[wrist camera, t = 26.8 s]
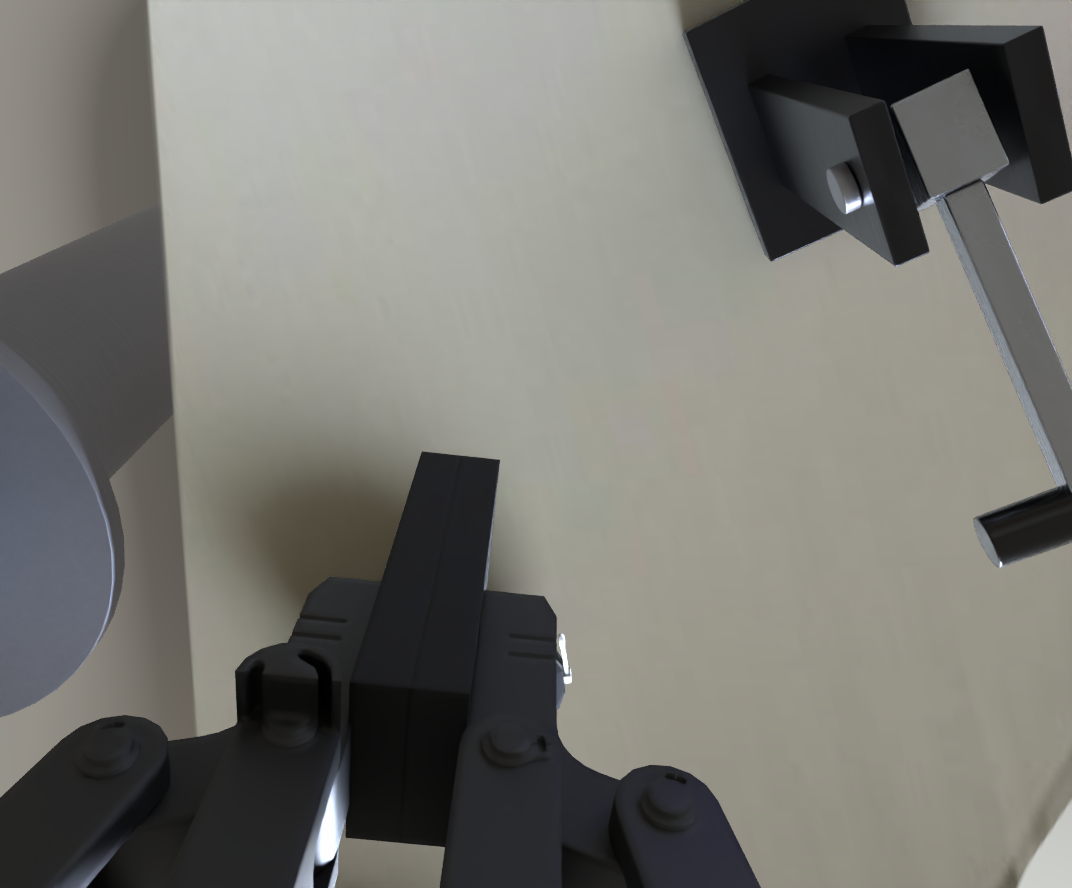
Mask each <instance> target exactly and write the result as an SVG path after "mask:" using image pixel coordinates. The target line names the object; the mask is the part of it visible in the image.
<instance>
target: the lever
mask: <svg viewBox="0 0 1072 888" xmlns="http://www.w3.org/2000/svg"><path fill="white" fill-rule="evenodd" d="M888 112H889V115H890V118H891V122H892V125H893V129H894V132H895V135H896V139H897V142H898V146H899V149H900V152H901V156H902V159H903V162H904V166H905V169H906V173H907V176H908V179H909V183H910V186H911V189H912V193H913V196H914V200H915V203H916V206H917V210H918V212H919V211H921V210H923V209H925V208H928V207H930V206H932V205H934V204H936V205H937V207H938V210H939V212H940V214H941V217H942V219H943V221H944V224H945V226H946V228H947V231H948V233H949V235H950V238H951V240H952V242H953V245H954V247H955V249H956V252H957V254H958V256H959V259H960V261H961V263H962V266H963V268H964V270H965V273H966V275H967V277H968V280H969V282H970V284H971V287H972V289H973V291H974V294H975V296H976V298H977V301H978V303H979V305H980V308H981V310H982V312H983V315H984V317H985V319H986V322H987V324H988V326H989V329H990V331H991V333H992V336H993V338H994V340H995V343H996V345H997V347H998V350H999V352H1000V354H1001V357H1002V359H1003V361H1004V364H1005V366H1006V368H1007V371H1008V373H1009V375H1010V378H1011V380H1012V382H1013V385H1014V387H1015V389H1016V392H1017V394H1018V396H1019V399H1020V401H1021V403H1022V406H1023V408H1024V410H1025V413H1026V415H1027V417H1028V420H1029V422H1030V424H1031V427H1032V429H1033V431H1034V434H1035V436H1036V438H1037V441H1038V443H1039V445H1040V448H1041V450H1042V452H1043V455H1044V457H1045V459H1046V462H1047V464H1048V466H1049V469H1050V471H1051V473H1052V476H1053V478H1054V480H1055V483H1056V485H1057V487H1056V488H1053V489H1050V490H1047V491H1045V492H1042V493H1039V494H1036V495H1034V496H1031V497H1028V498H1026V499H1023V500H1020V501H1017V502H1015V503H1012V504H1009V505H1007V506H1004V507H1001V508H998V509H996V510H993V511H990V512H987V513H985V514H982V515H979V516H977V517H975V518H974V527H975V531H976V534H977V536H978V539H979V541H980V543H981V545H982V547H983V549H984V551H985V552H986V554H987V556H988V557H989V559H990V560H991V561H992V563H993V564H994V565H995V566H996V567H1000V568H1001V567H1004V566H1006V565H1009V564H1012V563H1015V562H1018V561H1021V560H1023V559H1026V558H1029V557H1032V556H1035V555H1038V554H1040V553H1043V552H1046V551H1049V550H1052V549H1055V548H1057V547H1060V546H1063V545H1066V544H1069V543H1072V386H1071V384H1070V381H1069V379H1068V377H1067V374H1066V372H1065V370H1064V367H1063V365H1062V363H1061V360H1060V358H1059V356H1058V353H1057V351H1056V349H1055V346H1054V344H1053V342H1052V339H1051V337H1050V335H1049V332H1048V330H1047V328H1046V325H1045V323H1044V321H1043V318H1042V316H1041V314H1040V311H1039V309H1038V307H1037V304H1036V302H1035V300H1034V297H1033V295H1032V293H1031V291H1030V288H1029V286H1028V284H1027V281H1026V279H1025V277H1024V274H1023V272H1022V270H1021V267H1020V265H1019V263H1018V260H1017V258H1016V256H1015V253H1014V251H1013V249H1012V246H1011V244H1010V242H1009V239H1008V237H1007V235H1006V232H1005V230H1004V228H1003V225H1002V223H1001V221H1000V218H999V216H998V214H997V211H996V209H995V207H994V204H993V202H992V200H991V197H990V195H989V193H988V190H987V188H986V186H985V183H984V182H985V181H986V180H988V179H989V178H991V177H992V176H993V175H995V174H996V173H998V172H999V171H1001V170H1002V169H1003V168H1005V167H1006V166H1008V165H1009V164H1010V160H1009V158H1008V155H1007V153H1006V151H1005V148H1004V146H1003V144H1002V141H1001V139H1000V137H999V134H998V132H997V130H996V127H995V125H994V123H993V120H992V118H991V116H990V113H989V111H988V109H987V106H986V104H985V102H984V99H983V97H982V95H981V92H980V90H979V88H978V85H977V83H976V81H975V78H974V76H973V74H972V71H971V70H970V69H966V70H964V71H961V72H959V73H957V74H955V75H953V76H951V77H949V78H947V79H944V80H942V81H940V82H938V83H936V84H934V85H932V86H930V87H927V88H925V89H923V90H921V91H919V92H917V93H915V94H913V95H910V96H908V97H906V98H904V99H902V100H900V101H898V102H896V103H893V104H892V105H891V106H890V107H889V108H888Z"/></svg>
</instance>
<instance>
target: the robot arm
mask: <svg viewBox="0 0 1072 888" xmlns="http://www.w3.org/2000/svg"><path fill="white" fill-rule="evenodd" d="M499 464H500V460H495V459H486V458H477V457H468V456H458V455H449V454H440V453H430V452H422V453H421V456H420V459H419V462H418V466H417V469H416V472H415V475H414V478H413V482H412V485H411V488H410V491H409V494H408V497H407V501H406V504H405V507H404V510H403V513H402V517H401V520H400V523H399V526H398V529H397V532H396V536H395V539H394V542H393V545H392V548H391V551H390V555H389V558H388V561H387V564H386V567H385V571H384V574H383V577H382V580H381V582H380V581H370V580H360V579H351V578H341V577H331V576H330V577H328V578H327V579H326V580H325V581H324V582H322V583H321V584H320V585H319V586H317V587H316V588H315V589H314V590H313V591H311V592H310V593H309V595H308V597H307V599H306V602H305V604H304V606H303V609H302V611H301V613H300V618H299V619H298V620H297V622H296V625H295V627H294V629H293V632H292V636H290V639H289V641H288V643H281V644H277V645H273V646H269V647H266V648H262V649H260V650H259V651H257V652H255V653H254V654H252V655H250V656H248V657H247V658H245V660H244V661H243V662H242V663H241V664H240V666H239V667H238V668H237V669H236V671H235V678H236V700H237V724H236V725H235V726H233V727H231V728H228V729H226V730H223V731H221V732H218V733H214V734H210V735H205V736H200V737H194V738H187V739H180V740H173V741H168V738H167V736H166V735H165V733H164V732H163V730H162V729H161V727H160V726H159V725H157V724H155V723H153V722H152V721H150V720H148V719H146V718H142V717H133V716H127V715H123V716H116V717H108V718H102V719H99V720H96V721H94V722H91V723H89V724H86V725H84V726H81V727H79V728H78V729H76V730H75V731H73V732H72V733H71V734H69V735H68V736H67V737H65V738H64V739H62V740H61V741H60V742H59V743H58V744H57V745H56V746H55V747H54V748H53V749H51V751H49V752H48V753H47V754H46V755H45V756H44V757H43V758H42V759H41V760H40V761H39V762H38V763H37V764H36V765H35V766H34V767H32V768H31V769H30V770H29V771H28V772H27V773H26V774H25V775H24V776H23V777H22V778H21V779H20V780H19V781H18V782H17V783H15V784H14V785H13V786H12V787H11V788H10V789H9V790H8V791H7V792H6V793H5V794H4V795H3V796H2V797H1V798H0V888H334V887H335V883H336V879H337V875H338V846H339V843H340V839H341V835H342V831H343V828H344V824H345V820H346V838H356V839H366V840H377V841H387V842H398V843H408V844H419V845H429V846H440V847H445V853H444V860H443V867H442V874H441V882H440V888H761V887H760V885H759V883H758V881H757V879H756V877H755V875H754V873H753V871H752V869H751V867H750V865H749V863H748V861H747V859H746V857H745V855H744V853H743V851H742V849H741V847H740V845H739V843H738V841H737V839H736V837H735V835H734V833H733V830H732V828H731V826H730V824H729V822H728V820H727V818H726V816H725V814H724V812H723V810H722V808H721V806H720V804H719V802H718V800H717V799H716V798H715V796H714V795H713V794H712V792H711V791H710V790H709V788H708V787H707V786H706V785H705V784H704V783H702V782H701V781H700V780H698V779H697V778H695V777H694V776H693V775H691V774H690V773H687V772H685V771H682V770H679V769H676V768H674V767H671V766H659V765H648V766H645V767H641V768H637V769H633V770H632V771H631V772H630V773H628V774H627V775H626V776H625V777H623V778H622V779H621V780H617V779H615V778H612V777H609V776H607V775H604V774H601V773H599V772H597V771H594V770H592V769H590V768H588V767H586V766H584V765H583V764H582V763H580V762H579V761H578V760H576V759H575V758H574V757H572V755H571V754H570V753H569V752H568V751H567V750H566V749H565V747H564V746H563V744H562V742H561V740H560V738H559V736H558V731H557V661H556V656H557V643H556V639H557V617H556V615H555V613H554V612H553V610H552V609H551V607H550V605H549V604H548V602H547V600H546V599H545V597H544V596H536V595H526V594H516V593H507V592H497V591H487V590H486V588H487V580H488V571H489V561H490V551H491V541H492V532H493V522H494V512H495V503H496V493H497V483H498V473H499Z"/></svg>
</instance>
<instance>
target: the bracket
mask: <svg viewBox="0 0 1072 888" xmlns="http://www.w3.org/2000/svg"><path fill="white" fill-rule="evenodd" d="M683 37H684V40H685V42H686V45H687V48H688V50H689V53H690V56H691V58H692V61H693V64H694V66H695V69H696V72H697V74H698V77H699V80H700V82H701V85H702V88H703V90H704V93H705V96H706V99H707V101H708V104H709V107H710V109H711V112H712V115H713V117H714V120H715V123H716V125H717V128H718V131H719V133H720V136H721V139H722V141H723V144H724V147H725V149H726V152H727V155H728V157H729V160H730V163H731V165H732V168H733V171H734V173H735V176H736V179H737V181H738V184H739V187H740V189H741V192H742V195H743V197H744V200H745V203H746V205H747V208H748V211H749V213H750V216H751V219H752V221H753V224H754V227H755V229H756V232H757V235H758V237H759V240H760V243H761V245H762V248H763V251H764V253H765V255H766V256H767V257H768V259H769V260H770V261H774V260H776V259H779V258H781V257H783V256H785V255H787V254H790V253H792V252H794V251H796V250H799V249H801V248H803V247H805V246H808V245H810V244H812V243H814V242H817V241H819V240H821V239H823V238H826V237H828V236H830V235H832V234H835V233H837V232H839V231H841V230H843V229H844V230H845V231H847V232H848V233H849V234H851V235H852V236H854V237H855V238H856V239H858V240H859V241H861V242H862V243H863V244H865V245H866V246H867V247H869V248H870V249H872V250H873V251H874V252H876V253H877V254H879V255H880V256H881V257H883V258H884V259H886V260H887V261H888V262H890V263H891V264H893V265H894V266H899V265H902V264H904V263H906V262H909V261H911V260H913V259H916V258H918V257H920V256H922V255H925V254H927V253H929V247H928V244H927V240H926V237H925V233H924V230H923V227H922V223H921V220H920V217H919V213H918V210H917V206H916V203H915V200H914V196H913V193H912V189H911V186H910V183H909V179H908V176H907V173H906V169H905V166H904V162H903V159H902V156H901V152H900V149H899V146H898V142H897V139H896V135H895V132H894V129H893V125H892V122H891V118H890V115H889V112H888V108H889V107H890V106H891V105H892V104H893V103H896V102H898V101H900V100H902V99H904V98H906V97H908V96H910V95H913V94H915V93H917V92H919V91H921V90H923V89H925V88H927V87H930V86H932V85H934V84H936V83H938V82H940V81H942V80H944V79H947V78H949V77H951V76H953V75H955V74H957V73H959V72H961V71H964V70H966V69H970V70H971V71H972V74H973V76H974V78H975V81H976V83H977V85H978V88H979V90H980V92H981V95H982V97H983V99H984V102H985V104H986V106H987V109H988V111H989V113H990V116H991V118H992V120H993V123H994V125H995V127H996V130H997V132H998V134H999V137H1000V139H1001V141H1002V144H1003V146H1004V148H1005V151H1006V153H1007V155H1008V158H1009V160H1010V164H1009V165H1008V166H1006V167H1005V168H1003V169H1002V170H1001V171H999V172H998V173H996V174H995V175H993V176H992V177H991V178H989V179H988V180H986V181H985V182H984V183H986V184H989V185H991V186H994V187H997V188H999V189H1002V190H1005V191H1007V192H1010V193H1013V194H1015V195H1018V196H1021V197H1023V198H1026V199H1029V200H1031V201H1034V202H1037V203H1040V204H1044V203H1046V202H1048V201H1051V200H1053V199H1055V198H1058V197H1060V196H1062V195H1065V194H1067V193H1069V192H1071V191H1072V157H1071V152H1070V148H1069V143H1068V139H1067V134H1066V129H1065V125H1064V120H1063V116H1062V111H1061V107H1060V100H1059V95H1058V92H1057V88H1056V84H1055V79H1054V75H1053V70H1052V65H1051V61H1050V56H1049V52H1048V47H1047V43H1046V38H1045V33H1044V29H1043V26H965V25H912V23H911V19H910V16H909V12H908V8H907V5H906V1H905V0H745V1H743V2H741V3H739V4H737V5H735V6H733V7H731V8H729V9H727V10H725V11H723V12H721V13H719V14H717V15H715V16H713V17H711V18H710V19H708V20H706V21H704V22H702V23H700V24H698V25H696V26H694V27H692V28H690V29H688V30H686V31H684V32H683Z"/></svg>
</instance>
